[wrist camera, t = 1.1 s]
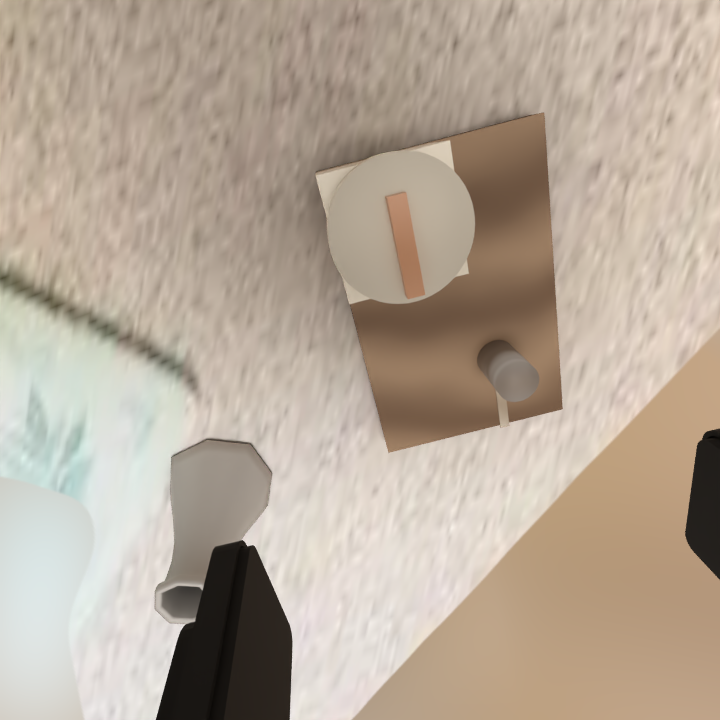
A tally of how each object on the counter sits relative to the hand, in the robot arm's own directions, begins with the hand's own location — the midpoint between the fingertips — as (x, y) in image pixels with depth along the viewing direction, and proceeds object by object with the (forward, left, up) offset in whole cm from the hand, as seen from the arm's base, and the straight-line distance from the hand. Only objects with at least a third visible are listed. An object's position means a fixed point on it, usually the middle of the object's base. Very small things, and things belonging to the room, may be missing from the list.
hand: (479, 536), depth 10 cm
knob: (-4, +1, -19) cm, 19 cm away
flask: (+11, -14, -20) cm, 27 cm away
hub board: (+2, +4, -20) cm, 21 cm away
